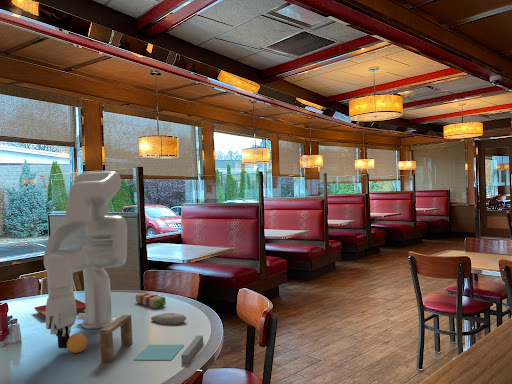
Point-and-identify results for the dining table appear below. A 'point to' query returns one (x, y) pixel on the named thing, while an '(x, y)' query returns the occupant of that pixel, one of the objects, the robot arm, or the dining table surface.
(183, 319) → the decorative stone
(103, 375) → the dining table surface
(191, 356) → the stopper rail
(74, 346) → the ball
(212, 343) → the dining table surface
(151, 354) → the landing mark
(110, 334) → the bridge
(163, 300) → the skewer
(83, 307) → the plant saucer
